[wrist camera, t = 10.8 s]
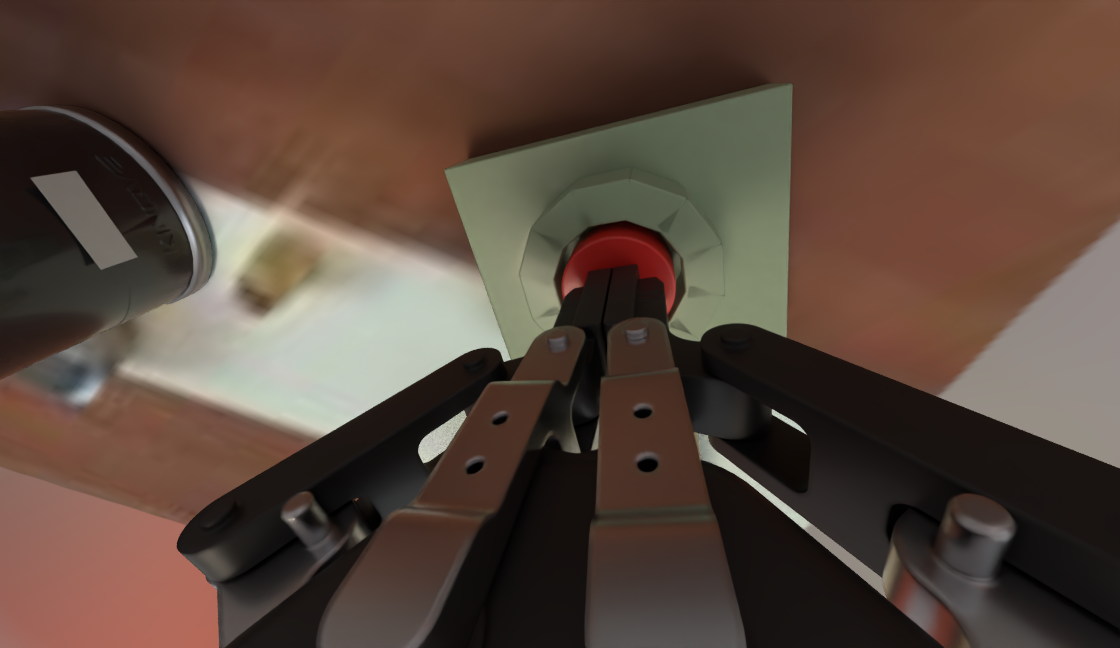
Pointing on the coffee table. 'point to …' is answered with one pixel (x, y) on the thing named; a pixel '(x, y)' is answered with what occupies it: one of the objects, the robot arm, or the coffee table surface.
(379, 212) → the coffee table surface
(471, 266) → the coffee table surface
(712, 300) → the switch box
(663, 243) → the button
